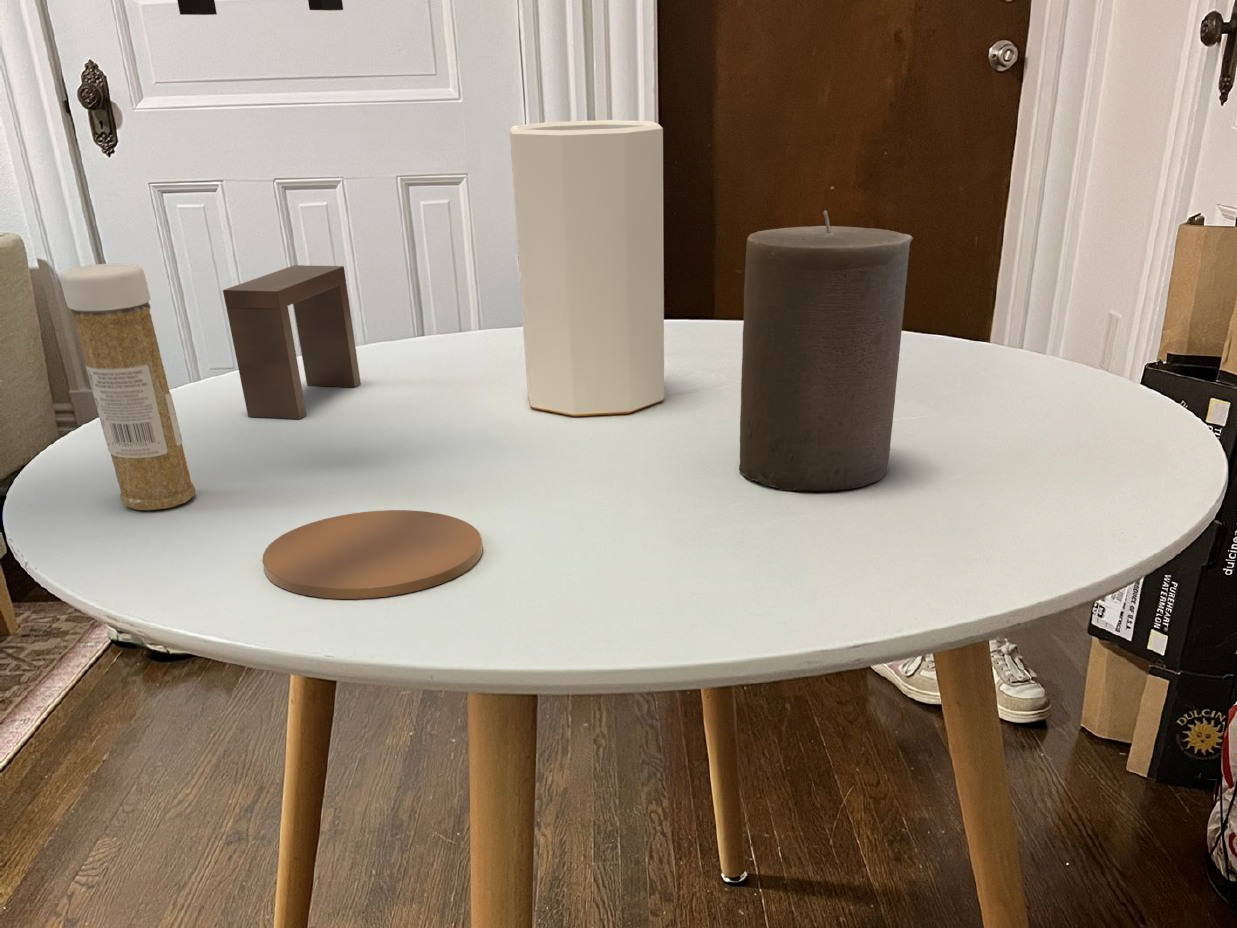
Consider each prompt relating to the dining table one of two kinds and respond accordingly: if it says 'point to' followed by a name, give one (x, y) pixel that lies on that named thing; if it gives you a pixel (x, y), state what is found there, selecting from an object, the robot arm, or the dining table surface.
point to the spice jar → (129, 383)
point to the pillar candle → (820, 355)
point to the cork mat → (372, 554)
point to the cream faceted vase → (591, 263)
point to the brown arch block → (291, 337)
